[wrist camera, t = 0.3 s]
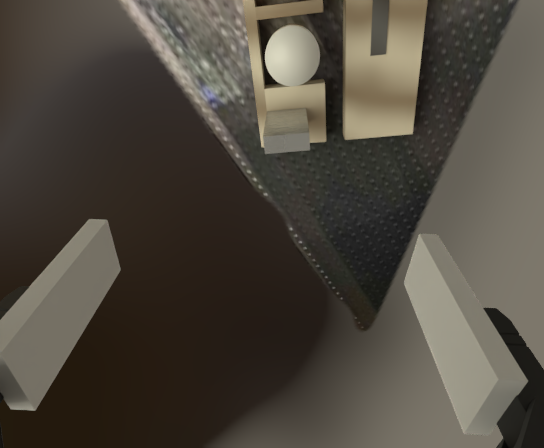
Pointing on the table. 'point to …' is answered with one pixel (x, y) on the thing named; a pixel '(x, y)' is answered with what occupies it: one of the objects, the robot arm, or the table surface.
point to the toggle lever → (286, 131)
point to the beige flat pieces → (352, 67)
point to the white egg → (292, 55)
